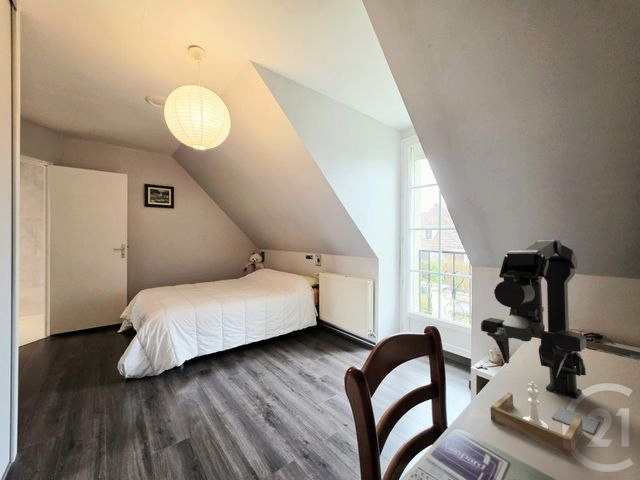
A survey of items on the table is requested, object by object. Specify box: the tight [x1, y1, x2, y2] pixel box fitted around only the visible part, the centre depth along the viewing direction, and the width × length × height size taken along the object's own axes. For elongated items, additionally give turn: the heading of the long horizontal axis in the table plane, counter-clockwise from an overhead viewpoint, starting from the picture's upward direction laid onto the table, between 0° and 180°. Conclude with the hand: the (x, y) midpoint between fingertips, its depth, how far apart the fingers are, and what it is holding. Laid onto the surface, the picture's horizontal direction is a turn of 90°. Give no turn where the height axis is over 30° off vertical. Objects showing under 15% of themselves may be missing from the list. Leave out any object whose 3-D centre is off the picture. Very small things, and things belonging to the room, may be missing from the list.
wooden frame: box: [490, 392, 584, 457], centre depth 60 cm, size 11×14×3 cm
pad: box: [551, 406, 600, 435], centre depth 62 cm, size 7×7×1 cm
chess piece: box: [522, 381, 549, 429], centre depth 60 cm, size 5×5×10 cm
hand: (530, 369), depth 61 cm, fingers open, 9 cm apart
